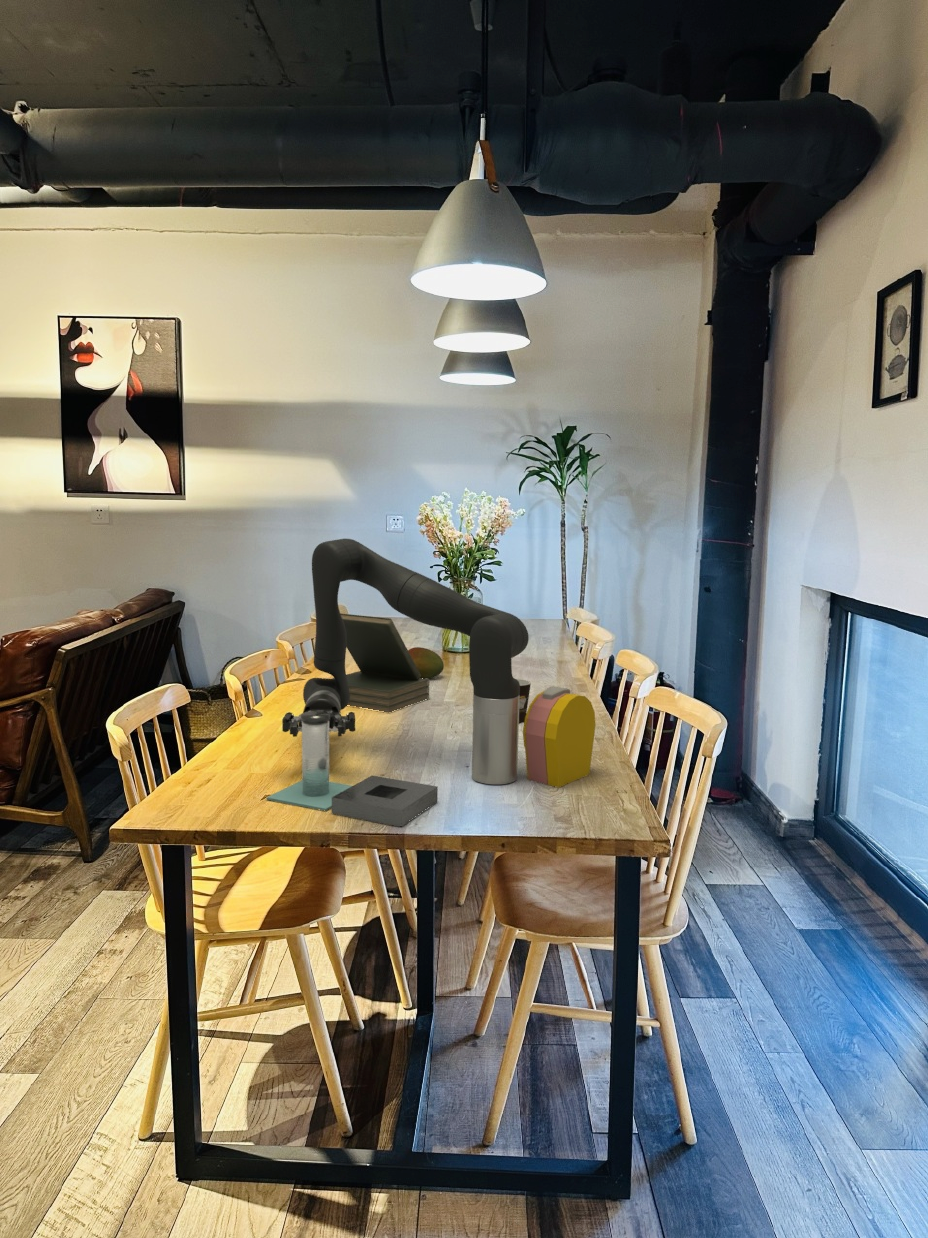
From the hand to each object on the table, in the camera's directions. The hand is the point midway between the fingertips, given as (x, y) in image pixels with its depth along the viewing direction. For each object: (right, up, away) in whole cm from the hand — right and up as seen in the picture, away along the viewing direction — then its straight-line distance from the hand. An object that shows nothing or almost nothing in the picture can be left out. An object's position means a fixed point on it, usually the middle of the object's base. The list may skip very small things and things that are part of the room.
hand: (317, 731), depth 165 cm
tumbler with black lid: (0, -11, -3) cm, 11 cm away
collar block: (+14, -13, -9) cm, 21 cm away
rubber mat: (0, -12, -3) cm, 12 cm away
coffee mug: (+39, -5, +56) cm, 68 cm away
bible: (+4, -2, +74) cm, 75 cm away
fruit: (+15, +3, +107) cm, 108 cm away
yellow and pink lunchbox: (+47, -11, +11) cm, 50 cm away
